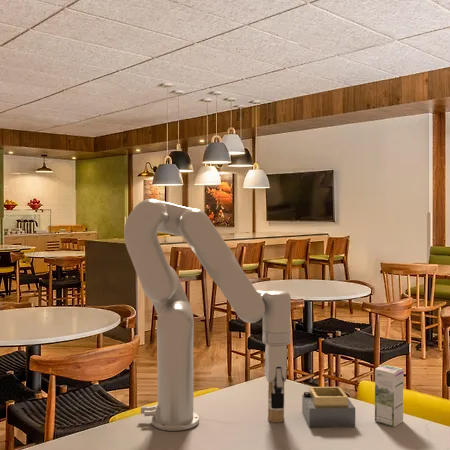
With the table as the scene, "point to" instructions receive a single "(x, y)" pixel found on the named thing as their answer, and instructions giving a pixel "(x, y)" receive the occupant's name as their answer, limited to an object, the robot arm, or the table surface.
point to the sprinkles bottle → (274, 413)
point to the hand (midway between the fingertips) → (276, 403)
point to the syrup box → (389, 395)
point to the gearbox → (327, 408)
